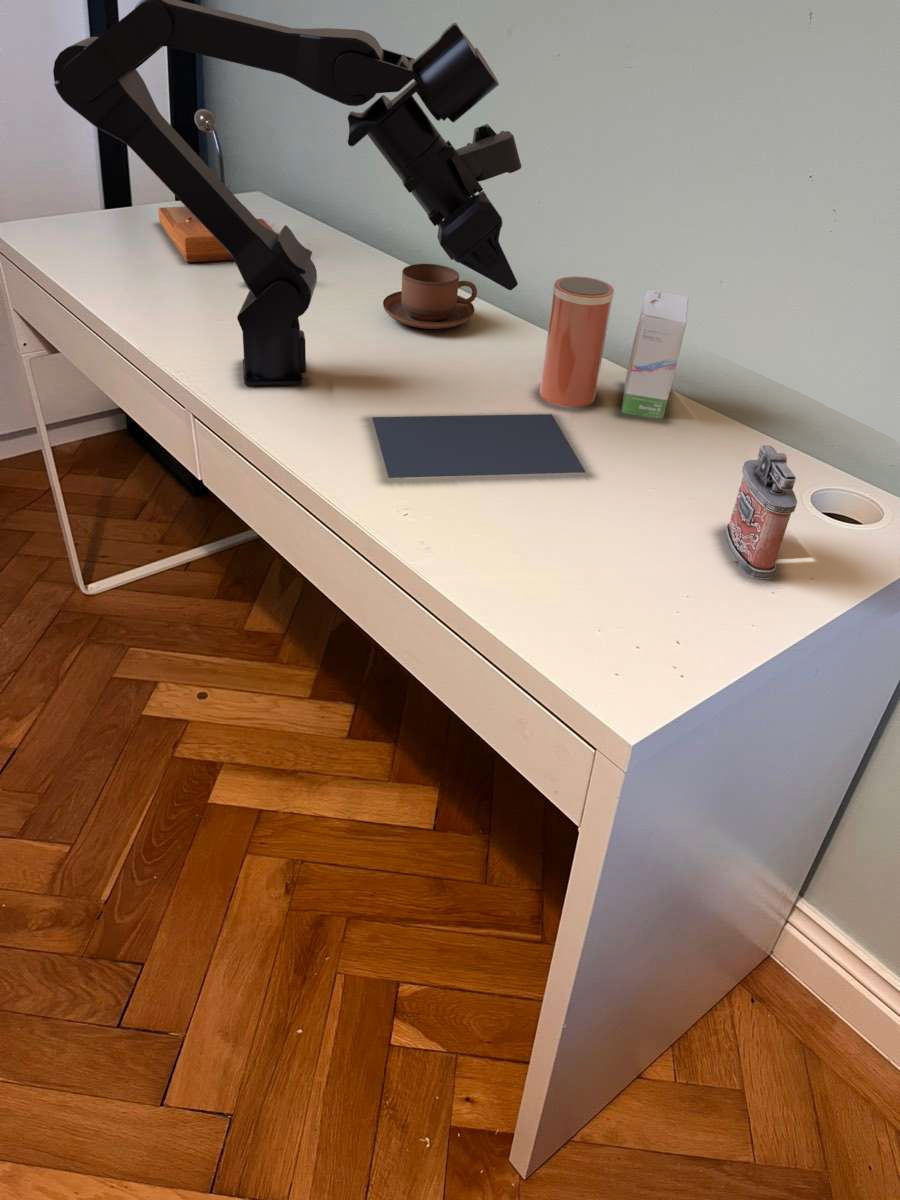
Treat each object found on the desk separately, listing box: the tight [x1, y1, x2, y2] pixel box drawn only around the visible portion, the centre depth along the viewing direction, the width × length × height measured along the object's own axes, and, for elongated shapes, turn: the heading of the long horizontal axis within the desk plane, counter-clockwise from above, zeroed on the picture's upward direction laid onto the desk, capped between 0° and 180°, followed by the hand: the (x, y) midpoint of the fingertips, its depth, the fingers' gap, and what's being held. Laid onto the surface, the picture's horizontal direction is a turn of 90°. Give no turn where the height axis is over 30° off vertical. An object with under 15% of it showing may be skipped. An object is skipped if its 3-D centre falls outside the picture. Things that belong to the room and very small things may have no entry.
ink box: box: [621, 290, 689, 419], centre depth 111 cm, size 9×5×12 cm, turn 168°
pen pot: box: [539, 276, 615, 408], centre depth 111 cm, size 6×6×13 cm
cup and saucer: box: [382, 263, 478, 330], centre depth 129 cm, size 12×12×6 cm
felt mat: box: [371, 413, 586, 479], centre depth 103 cm, size 20×13×1 cm, turn 101°
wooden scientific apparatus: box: [158, 108, 275, 263], centre depth 142 cm, size 14×30×18 cm, turn 24°
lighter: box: [724, 444, 798, 580], centre depth 87 cm, size 8×3×10 cm, turn 5°
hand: (507, 275), depth 107 cm, fingers open, 9 cm apart
